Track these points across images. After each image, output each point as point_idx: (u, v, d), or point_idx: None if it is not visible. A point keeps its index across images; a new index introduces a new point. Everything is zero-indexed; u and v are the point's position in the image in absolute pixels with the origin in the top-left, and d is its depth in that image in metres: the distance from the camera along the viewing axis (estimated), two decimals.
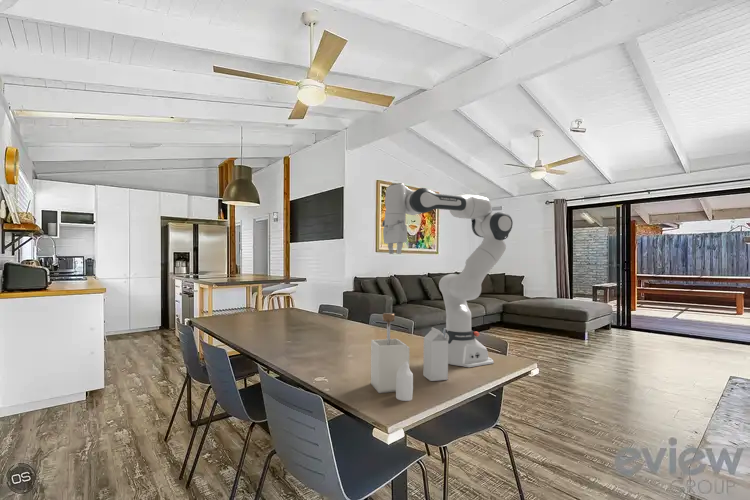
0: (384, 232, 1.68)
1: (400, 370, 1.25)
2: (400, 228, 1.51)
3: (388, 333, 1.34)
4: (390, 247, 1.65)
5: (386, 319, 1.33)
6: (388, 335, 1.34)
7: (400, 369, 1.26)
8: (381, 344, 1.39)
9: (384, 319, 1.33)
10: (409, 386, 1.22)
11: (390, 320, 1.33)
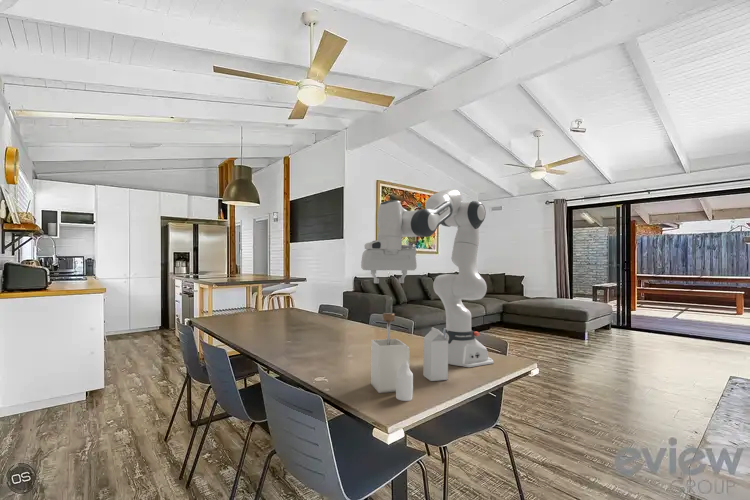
0: (369, 256, 1.31)
1: (400, 370, 1.25)
2: None
3: (388, 333, 1.34)
4: None
5: (386, 319, 1.33)
6: (388, 335, 1.34)
7: (400, 369, 1.26)
8: (381, 344, 1.39)
9: (384, 319, 1.33)
10: (409, 386, 1.22)
11: (390, 320, 1.33)
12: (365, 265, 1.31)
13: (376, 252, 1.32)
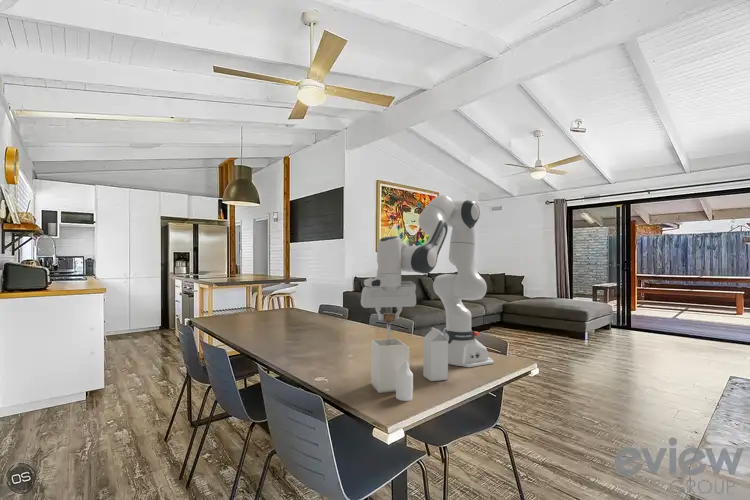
0: (368, 294, 1.31)
1: (400, 370, 1.25)
2: None
3: (388, 333, 1.34)
4: None
5: (386, 319, 1.33)
6: (388, 335, 1.34)
7: (400, 369, 1.26)
8: (381, 344, 1.39)
9: (384, 319, 1.33)
10: (409, 386, 1.22)
11: (390, 320, 1.33)
12: (365, 303, 1.31)
13: (376, 290, 1.31)
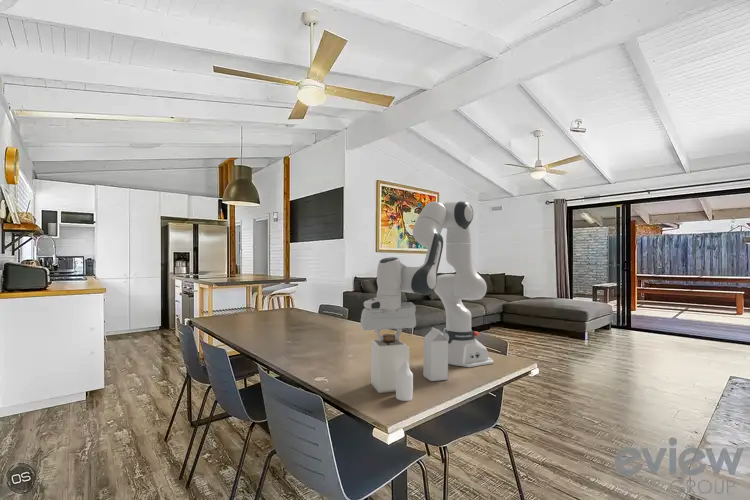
0: (368, 316, 1.31)
1: (400, 370, 1.25)
2: None
3: None
4: None
5: (386, 341, 1.33)
6: None
7: (400, 369, 1.26)
8: (381, 344, 1.39)
9: (384, 340, 1.33)
10: (409, 386, 1.22)
11: (390, 342, 1.33)
12: (364, 325, 1.30)
13: (375, 312, 1.31)
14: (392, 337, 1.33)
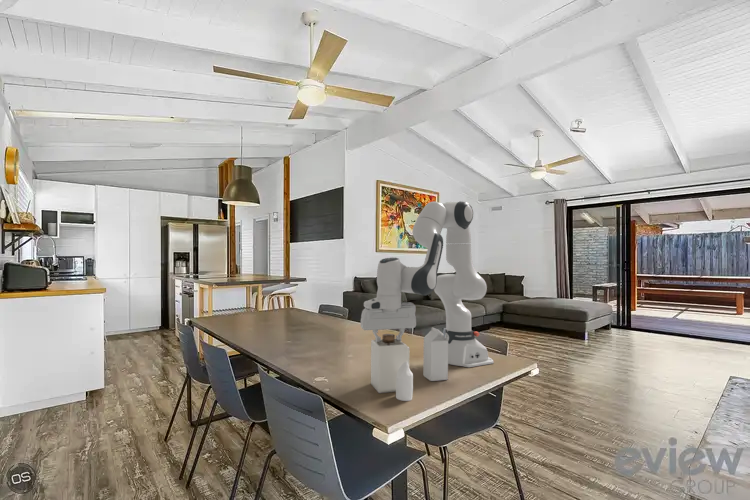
0: (368, 316, 1.31)
1: (400, 370, 1.25)
2: None
3: None
4: (376, 334, 1.33)
5: (386, 341, 1.33)
6: None
7: (400, 369, 1.26)
8: (381, 344, 1.39)
9: (384, 340, 1.33)
10: (409, 386, 1.22)
11: (390, 342, 1.33)
12: (364, 325, 1.30)
13: (375, 312, 1.31)
14: (392, 337, 1.33)
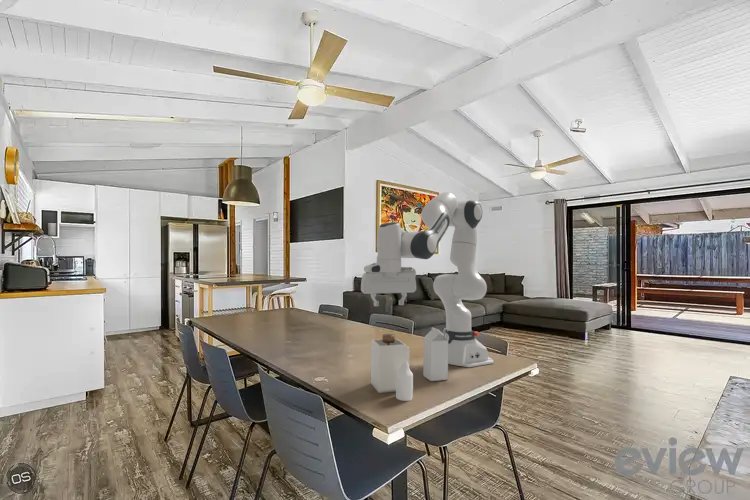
0: (368, 279, 1.31)
1: (400, 370, 1.25)
2: None
3: None
4: None
5: (386, 341, 1.33)
6: None
7: (400, 369, 1.26)
8: (381, 344, 1.39)
9: (384, 340, 1.33)
10: (409, 386, 1.22)
11: (390, 342, 1.33)
12: (365, 289, 1.31)
13: (376, 275, 1.31)
14: (392, 337, 1.33)
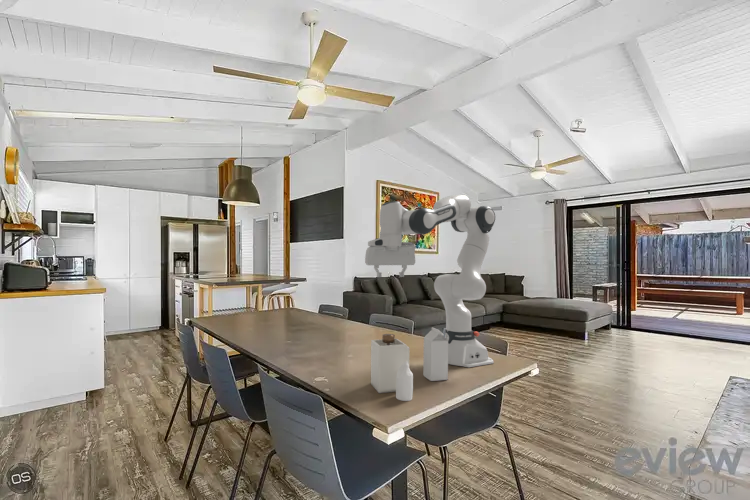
0: (372, 252, 1.45)
1: (400, 370, 1.25)
2: None
3: None
4: None
5: (386, 341, 1.33)
6: None
7: (400, 369, 1.26)
8: (381, 344, 1.39)
9: (384, 340, 1.33)
10: (409, 386, 1.22)
11: (390, 342, 1.33)
12: (369, 261, 1.44)
13: (379, 249, 1.45)
14: (392, 337, 1.33)
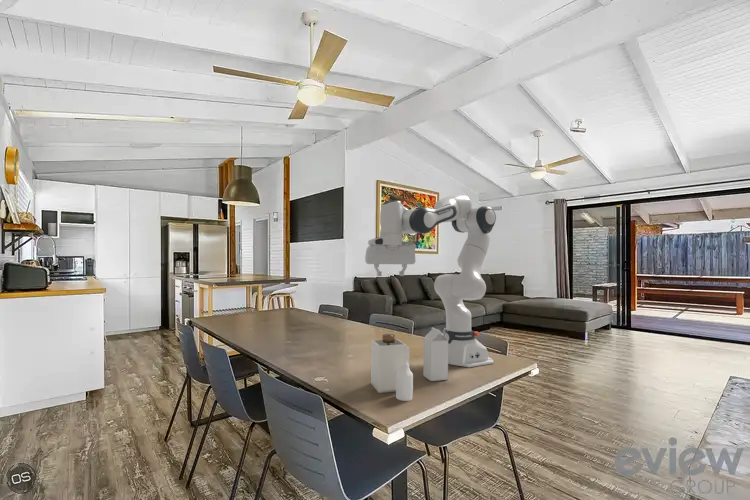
0: (372, 251, 1.45)
1: (400, 370, 1.25)
2: None
3: None
4: None
5: (386, 341, 1.33)
6: None
7: (400, 369, 1.26)
8: (381, 344, 1.39)
9: (384, 340, 1.33)
10: (409, 386, 1.22)
11: (390, 342, 1.33)
12: (369, 259, 1.45)
13: (379, 248, 1.45)
14: (392, 337, 1.33)
